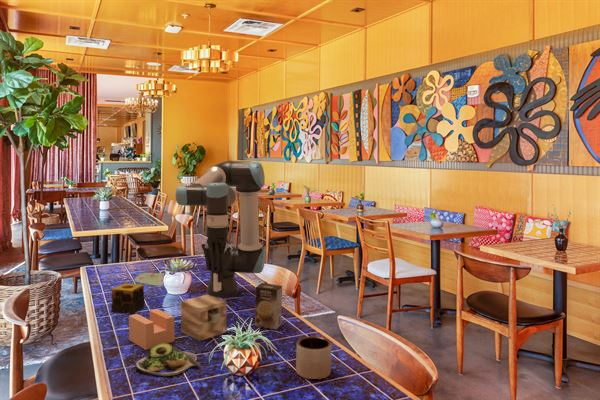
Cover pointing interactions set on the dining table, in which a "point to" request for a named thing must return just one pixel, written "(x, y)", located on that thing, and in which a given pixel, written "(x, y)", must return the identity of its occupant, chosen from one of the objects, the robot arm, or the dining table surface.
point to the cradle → (151, 329)
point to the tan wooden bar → (211, 315)
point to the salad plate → (166, 360)
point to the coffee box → (268, 306)
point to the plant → (151, 278)
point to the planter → (313, 357)
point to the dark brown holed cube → (127, 298)
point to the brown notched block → (202, 317)
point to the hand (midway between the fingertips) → (217, 290)
